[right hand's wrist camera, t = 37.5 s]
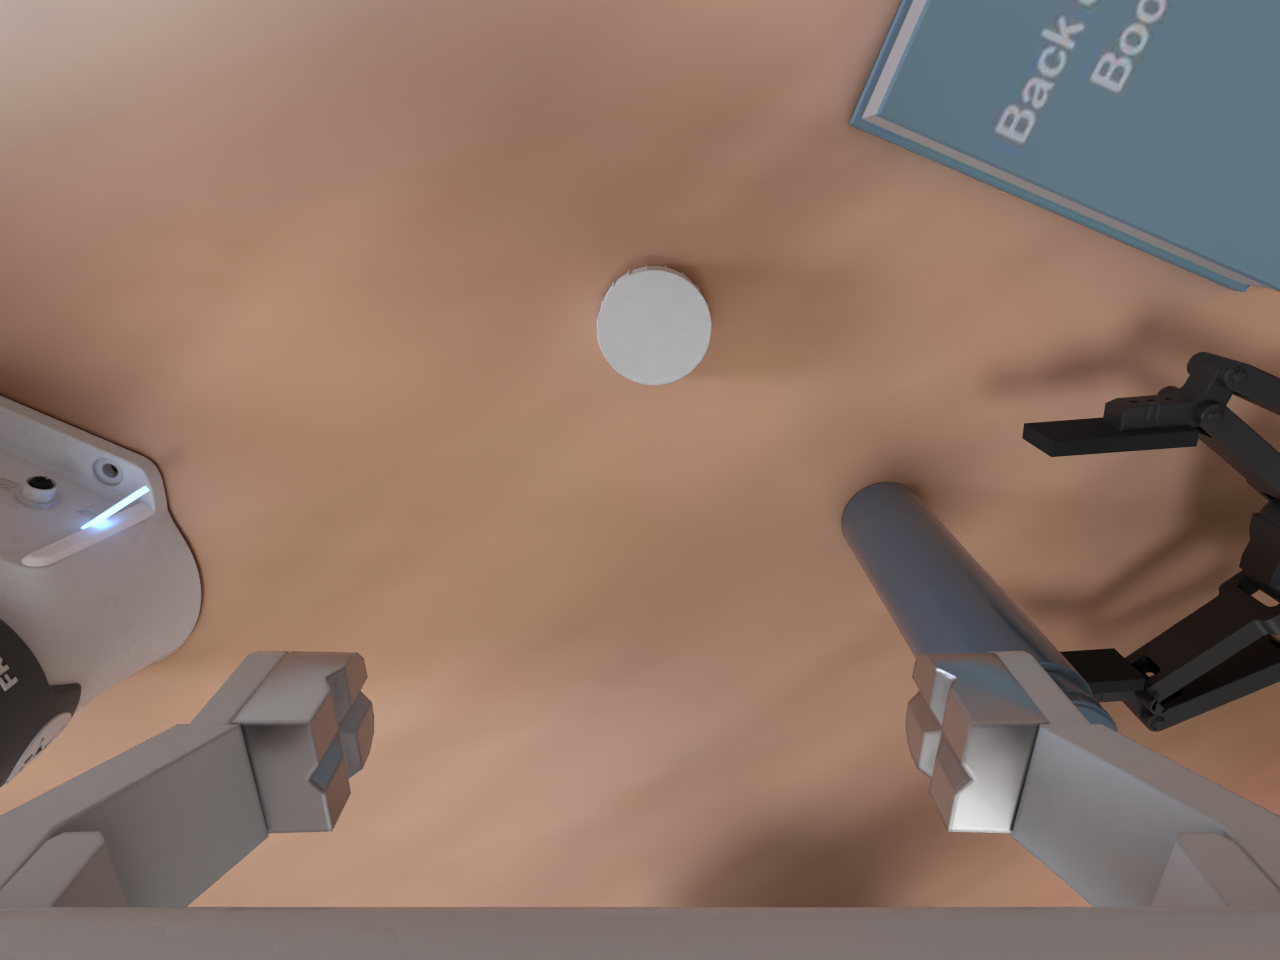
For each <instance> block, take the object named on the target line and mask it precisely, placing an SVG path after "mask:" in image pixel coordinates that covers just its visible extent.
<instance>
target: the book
mask: <svg viewBox="0 0 1280 960" xmlns="http://www.w3.org/2000/svg"><path fill="white" fill-rule="evenodd" d="M849 124H850V125H852V126H854V127H857V128H859V129H861V130H864V131H866V132H868V133H871V134H873V135H875V136H878V137H880V138H882V139H884V140H887V141H889V142H891V143H894V144H896V145H898V146H901V147H903V148H905V149H908V150H910V151H912V152H915V153H917V154H919V155H922V156H924V157H926V158H928V159H931V160H933V161H935V162H938V163H940V164H942V165H945V166H947V167H949V168H952V169H954V170H956V171H959V172H961V173H963V174H966V175H968V176H970V177H973V178H975V179H977V180H979V181H982V182H984V183H986V184H989V185H991V186H993V187H996V188H998V189H1000V190H1003V191H1005V192H1007V193H1010V194H1012V195H1014V196H1017V197H1019V198H1021V199H1023V200H1026V201H1028V202H1030V203H1033V204H1035V205H1037V206H1040V207H1042V208H1044V209H1047V210H1049V211H1051V212H1054V213H1056V214H1058V215H1061V216H1063V217H1065V218H1067V219H1070V220H1072V221H1074V222H1077V223H1079V224H1081V225H1084V226H1086V227H1088V228H1091V229H1093V230H1095V231H1098V232H1100V233H1102V234H1105V235H1107V236H1109V237H1112V238H1114V239H1116V240H1118V241H1121V242H1123V243H1125V244H1128V245H1130V246H1132V247H1135V248H1137V249H1139V250H1142V251H1144V252H1146V253H1149V254H1151V255H1153V256H1156V257H1158V258H1160V259H1162V260H1165V261H1167V262H1169V263H1172V264H1174V265H1176V266H1179V267H1181V268H1183V269H1186V270H1188V271H1190V272H1193V273H1195V274H1197V275H1200V276H1202V277H1204V278H1206V279H1209V280H1211V281H1213V282H1216V283H1218V284H1220V285H1223V286H1225V287H1227V288H1230V289H1232V290H1234V291H1240V292H1245V291H1246V290H1247V288H1248V287H1249V285H1252V286H1258V287H1265V288H1271V289H1275V290H1277V291H1279V292H1280V0H902V2H901V5H900V7H899V9H898V12H897V14H896V16H895V19H894V21H893V23H892V26H891V28H890V30H889V32H888V35H887V37H886V39H885V42H884V44H883V46H882V49H881V51H880V53H879V56H878V58H877V60H876V63H875V65H874V67H873V70H872V72H871V74H870V76H869V79H868V81H867V83H866V86H865V88H864V90H863V93H862V95H861V97H860V100H859V102H858V104H857V107H856V109H855V111H854V114H853V116H852V118H851V120H850V123H849Z"/></svg>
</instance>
